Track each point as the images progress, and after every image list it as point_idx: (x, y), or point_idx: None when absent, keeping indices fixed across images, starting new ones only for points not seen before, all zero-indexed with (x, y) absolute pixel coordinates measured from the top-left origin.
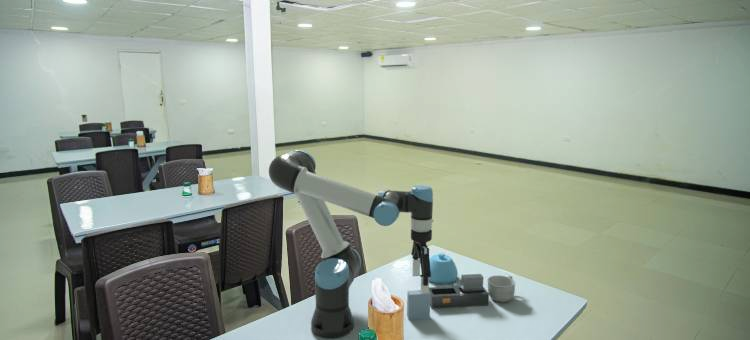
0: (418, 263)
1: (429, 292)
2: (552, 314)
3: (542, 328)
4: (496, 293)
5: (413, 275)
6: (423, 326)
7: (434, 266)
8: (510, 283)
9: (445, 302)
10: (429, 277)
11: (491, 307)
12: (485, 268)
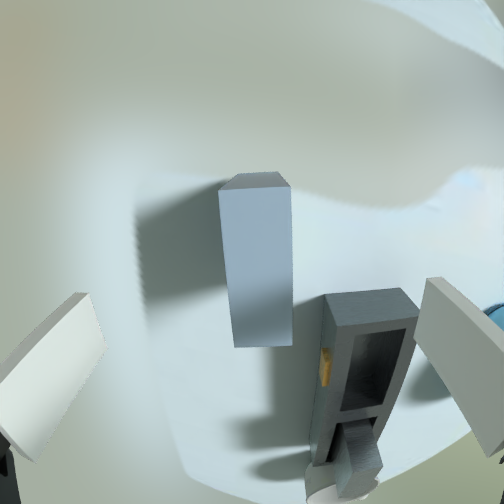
0: (479, 415)
1: (252, 344)
2: (253, 491)
3: (202, 473)
4: (317, 472)
5: (429, 287)
6: (181, 234)
7: None
8: None
9: (321, 359)
10: (496, 320)
11: (297, 441)
12: (463, 430)
